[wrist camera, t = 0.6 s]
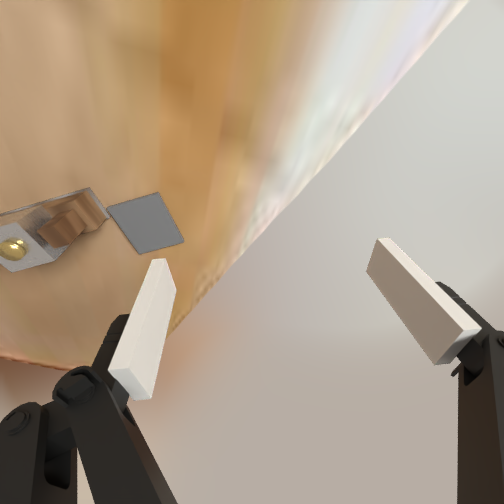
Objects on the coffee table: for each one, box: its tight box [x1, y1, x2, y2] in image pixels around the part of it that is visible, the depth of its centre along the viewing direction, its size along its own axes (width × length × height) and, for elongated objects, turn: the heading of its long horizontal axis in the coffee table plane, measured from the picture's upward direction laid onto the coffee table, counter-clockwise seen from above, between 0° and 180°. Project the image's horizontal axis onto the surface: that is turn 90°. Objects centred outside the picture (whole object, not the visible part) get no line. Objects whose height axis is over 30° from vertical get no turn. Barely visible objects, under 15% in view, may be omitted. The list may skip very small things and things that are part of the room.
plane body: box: [0, 187, 110, 249], centre depth 35 cm, size 19×5×10 cm, turn 105°
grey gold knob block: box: [0, 205, 70, 273], centre depth 33 cm, size 6×7×6 cm
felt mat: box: [107, 192, 184, 254], centre depth 41 cm, size 10×9×1 cm
